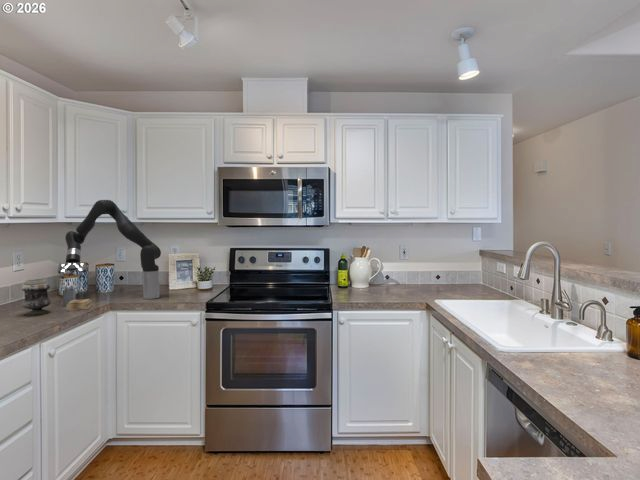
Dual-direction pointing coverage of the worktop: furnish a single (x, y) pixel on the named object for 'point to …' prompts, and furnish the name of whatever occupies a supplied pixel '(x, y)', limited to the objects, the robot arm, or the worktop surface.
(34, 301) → the apothecary jar
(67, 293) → the housing
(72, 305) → the tan flat rounded piece
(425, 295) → the worktop surface
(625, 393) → the worktop surface
